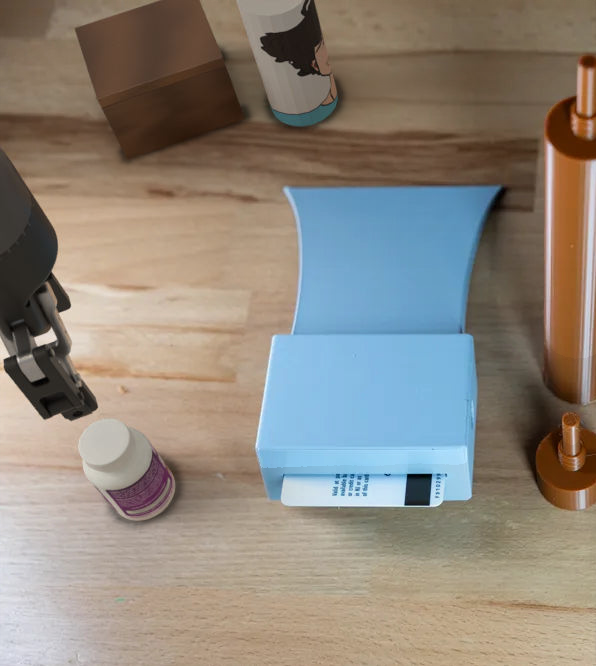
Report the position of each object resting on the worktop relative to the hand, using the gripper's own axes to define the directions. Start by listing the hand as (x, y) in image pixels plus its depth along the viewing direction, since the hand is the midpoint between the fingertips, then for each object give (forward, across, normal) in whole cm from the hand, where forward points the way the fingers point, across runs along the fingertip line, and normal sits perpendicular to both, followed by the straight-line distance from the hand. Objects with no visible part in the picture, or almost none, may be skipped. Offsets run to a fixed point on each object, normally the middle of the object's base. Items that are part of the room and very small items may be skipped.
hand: (69, 359), depth 79 cm
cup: (+21, -35, +23) cm, 47 cm away
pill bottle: (+21, 0, -2) cm, 21 cm away
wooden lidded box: (+21, -40, +11) cm, 47 cm away
